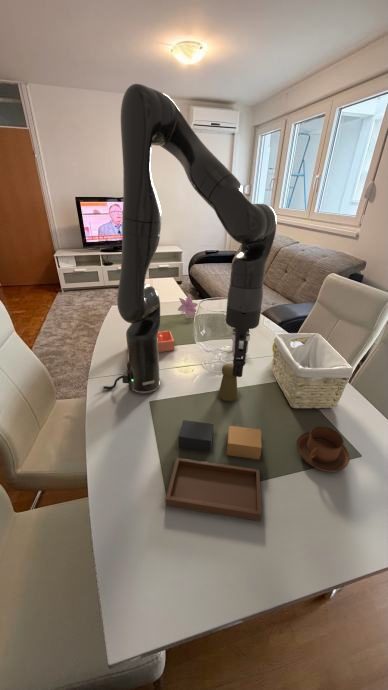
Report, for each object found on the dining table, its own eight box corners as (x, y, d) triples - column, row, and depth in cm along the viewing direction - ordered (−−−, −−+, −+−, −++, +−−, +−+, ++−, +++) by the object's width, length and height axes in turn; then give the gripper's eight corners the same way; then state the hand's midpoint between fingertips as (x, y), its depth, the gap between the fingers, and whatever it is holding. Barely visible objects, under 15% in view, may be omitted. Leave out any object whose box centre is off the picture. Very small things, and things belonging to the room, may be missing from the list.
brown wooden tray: (165, 505, 61) (165, 499, 60) (176, 463, 70) (176, 457, 69) (260, 521, 59) (261, 514, 58) (258, 475, 68) (259, 469, 67)
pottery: (170, 339, 127) (169, 318, 122) (174, 350, 119) (174, 327, 114) (127, 343, 123) (125, 321, 118) (128, 354, 115) (126, 331, 110)
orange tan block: (226, 455, 73) (227, 443, 71) (227, 437, 78) (229, 425, 76) (259, 459, 72) (261, 447, 70) (258, 441, 77) (260, 429, 75)
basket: (267, 368, 108) (273, 331, 101) (311, 368, 109) (320, 331, 102) (289, 412, 87) (298, 370, 80) (342, 411, 88) (356, 369, 81)
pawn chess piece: (236, 402, 91) (240, 372, 86) (217, 399, 92) (219, 369, 87) (238, 390, 96) (241, 361, 91) (219, 388, 97) (221, 359, 92)
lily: (173, 320, 147) (180, 307, 141) (171, 304, 155) (178, 290, 148) (195, 325, 152) (203, 312, 145) (192, 309, 159) (200, 296, 153)
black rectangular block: (178, 448, 74) (178, 436, 73) (183, 431, 80) (183, 419, 78) (210, 452, 73) (211, 440, 72) (212, 435, 79) (213, 423, 77)
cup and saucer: (343, 485, 66) (350, 465, 63) (289, 461, 72) (294, 442, 69) (350, 449, 75) (357, 431, 72) (302, 430, 81) (306, 413, 78)
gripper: (228, 292, 72) (223, 351, 80) (225, 314, 60) (220, 381, 67) (259, 294, 71) (251, 353, 79) (263, 317, 59) (253, 384, 67)
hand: (237, 366), depth 73 cm, fingers open, 8 cm apart
